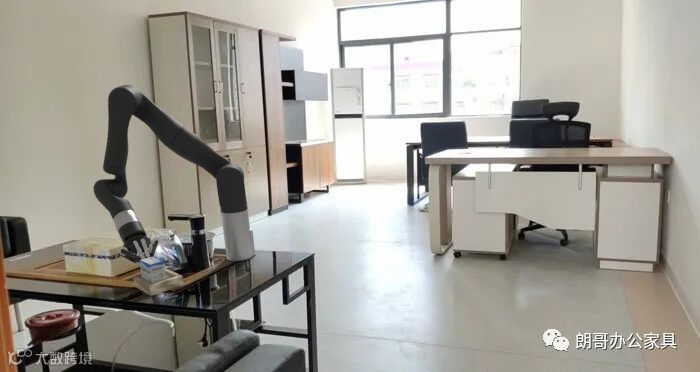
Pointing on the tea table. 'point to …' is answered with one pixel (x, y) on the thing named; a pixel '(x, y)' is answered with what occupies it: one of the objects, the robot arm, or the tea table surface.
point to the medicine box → (152, 270)
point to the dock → (160, 283)
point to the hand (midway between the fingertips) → (150, 269)
